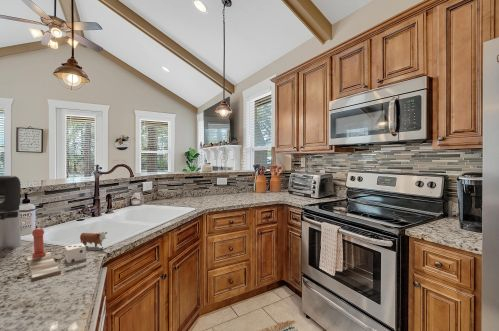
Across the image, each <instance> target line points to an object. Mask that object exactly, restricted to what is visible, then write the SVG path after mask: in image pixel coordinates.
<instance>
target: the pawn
mask: <svg viewBox="0 0 499 331" xmlns="http://www.w3.org/2000/svg"><path fill="white" fill-rule="evenodd" d="M44 234H45V230H44V229H43V228H41V227H37V228H35V229H33V230H32V233H31V235H32V237H33V253H32V255H31V256H32V257H33V258H39V257H40V258H41V257H43V256H45V255H46V253H47V252H46V250H45V248H44V247H45V246H44Z"/></svg>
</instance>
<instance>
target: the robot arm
mask: <svg viewBox="0 0 499 331" xmlns="http://www.w3.org/2000/svg"><path fill="white" fill-rule="evenodd" d="M21 186H22V185H21V181H20V179H19V177H18V176H16V175H0V197H4V200H3V201H2V202H0V251H5V250H9V249H10V250H11V249H15V248H19V247H21V246H22V242H21V241H22V240H21V234H22V233H21V216H20V215H21V214H20V205H21V192H22V191H21V189H22V187H21Z"/></svg>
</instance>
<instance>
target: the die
mask: <svg viewBox="0 0 499 331" xmlns="http://www.w3.org/2000/svg"><path fill="white" fill-rule="evenodd" d="M64 259H65V261H66V262H67V263H68V264H70V263H74V262H78V261H82V260H86V259H87V245H86V246H85V245H84V244H83V243H81V242H79V243H75V244H70V245H65V246H64Z"/></svg>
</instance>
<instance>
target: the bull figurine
mask: <svg viewBox="0 0 499 331" xmlns="http://www.w3.org/2000/svg"><path fill="white" fill-rule="evenodd" d="M107 234H108V232H107V231H106V232H105V231H99V232H93V233H91V232H82V233H80V236H79V238H80V243H83V244H84V245H85V246H86V247H87V245H88V244H90V245H92V244H94V248H97V246H98V245H99V246H100V245H101V246H103V241H104V240H106V238H107V237H106V235H107Z"/></svg>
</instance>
